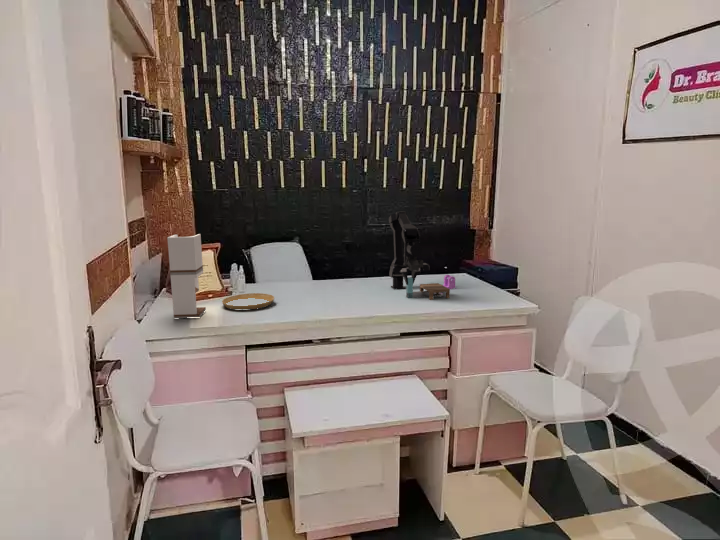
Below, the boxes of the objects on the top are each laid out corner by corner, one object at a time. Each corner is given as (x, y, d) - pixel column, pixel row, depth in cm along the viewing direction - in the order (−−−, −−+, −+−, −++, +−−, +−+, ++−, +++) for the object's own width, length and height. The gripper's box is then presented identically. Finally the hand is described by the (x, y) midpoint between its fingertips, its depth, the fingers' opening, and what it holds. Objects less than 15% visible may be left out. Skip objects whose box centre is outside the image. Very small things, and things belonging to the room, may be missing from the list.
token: (431, 295, 246) (431, 292, 246) (440, 294, 247) (440, 292, 247) (435, 297, 241) (435, 294, 241) (444, 296, 243) (444, 294, 242)
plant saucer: (222, 314, 215) (221, 307, 214) (222, 301, 238) (222, 295, 237) (277, 310, 221) (276, 302, 220) (272, 298, 244) (271, 291, 243)
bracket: (449, 286, 265) (450, 274, 264) (455, 289, 260) (455, 276, 258) (428, 288, 260) (428, 276, 259) (433, 291, 255) (433, 278, 254)
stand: (419, 293, 250) (419, 284, 249) (437, 292, 252) (438, 283, 251) (430, 299, 236) (430, 290, 235) (449, 298, 238) (449, 289, 237)
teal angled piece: (406, 297, 242) (406, 277, 240) (432, 295, 245) (432, 275, 243) (407, 298, 240) (408, 278, 238) (434, 296, 242) (434, 276, 241)
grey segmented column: (199, 318, 207) (193, 237, 201) (174, 319, 206) (167, 237, 200) (205, 311, 218) (200, 234, 212) (181, 312, 217) (175, 234, 211)
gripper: (396, 256, 227) (396, 289, 230) (434, 254, 231) (433, 287, 234) (389, 253, 238) (389, 284, 241) (425, 251, 242) (425, 282, 245)
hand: (409, 284), depth 240 cm, fingers closed on teal angled piece, 2 cm apart
